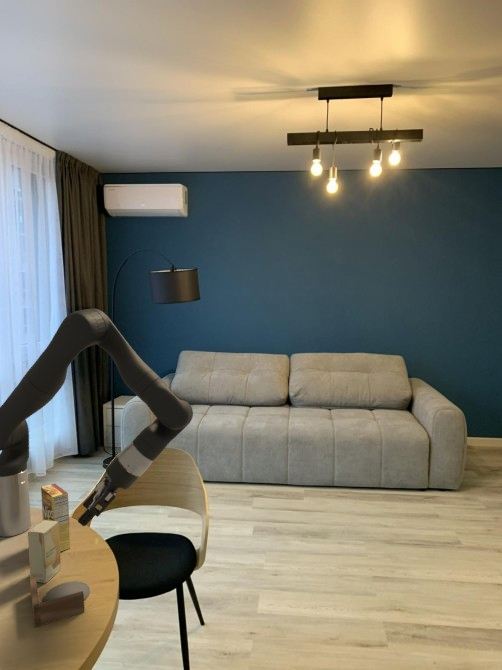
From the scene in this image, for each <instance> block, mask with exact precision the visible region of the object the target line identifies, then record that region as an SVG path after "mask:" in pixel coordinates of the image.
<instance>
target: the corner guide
mask: <svg viewBox="0 0 502 670" xmlns="http://www.w3.org/2000/svg"><path fill="white" fill-rule="evenodd" d="M37 583H38V582H36V576H33V577H30V576H29V586H30V597H31V598H30V599H31V600H30V601H31V606H32V608H31V609H32V615H33V624H34V625H33V626H34V628H37V627H41V626H44V625H47V624H50V623H53V622H56V621H59V620H63V619H66V618H69V617H70V618H71V617H73V616H75V615H79V614H82V613H85V600H84V594H83V591H81V592H78V593H74V594H71V595H67V596H64V597H60V598H57V599H54V600H50V601H47V602H44V601H43V602H41V603H40V600H39V591H38V584H37Z"/></svg>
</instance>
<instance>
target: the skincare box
mask: <svg viewBox="0 0 502 670" xmlns="http://www.w3.org/2000/svg"><path fill="white" fill-rule="evenodd" d="M27 538H28V539H27V541H28V542H27V543H28V559H29V560H28V561H29V578H30V577H33V576H36V583H42V584H43V583H44V584H46V583H48V582H49V581H50V580H51V579H52V578H53V577H54V576H55V575H56V574H57V573H59V571H60V570H61V569H62V564H61V563H62V562H61V560H62V559H61V552H60V541H59V522H58V521H48V520H43V519H42V521H41V522H39V523H38V524H36V525H34V526H33V527H32V528H31V529H29V530H27Z"/></svg>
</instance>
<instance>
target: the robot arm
mask: <svg viewBox="0 0 502 670" xmlns="http://www.w3.org/2000/svg"><path fill="white" fill-rule="evenodd" d="M95 345H97V346H98V347H99V348H101V349H103V350H104V351H105V352H106V353H107V355H109V356H110V357H111V359H112V360H113V362H114V364H115V365H116V369H117V370H118V373H119V375H120V378H121V379H122V381H123V382H124V384H125V385H126V386H127V387H128V388H129V390H130V391H131V392H133V394H135V395H136V397H138V398H139V399H140V400H141V401H142V402H143V403H145V404H146V406H147V407H148V408H149V410H150V411H151V412H152V414H153V415H154V416H155V418H156V419H155V420H154V421H153V422H152V423H151V424H149V425H148V426H146V427H145V428H144V429H142V430H141V431H140V433H139V434H138V435H137V436H136V437H135V438H134V439H133V440H132V441H131V442H130V443H128V444H127V445H126V446H125V447H124V448H123V449H122V450H121V451H120V452H119V453H118V455H116V456H115V458H114V459H113V460H112V461H111V462H110V463H109V464H108V465H107V466H106V467H105V472H106V475H104V477H103V478H102V479H101V480H100V481H99V482H98V483H97V484H95V487H94V489H93V491H92V493H91V494H90V495H89V496H88V497H87V498H86V499H85V500H84V501H83V503H82V506H83V507H84V508H85V509H86V510H85V511H84V512H83V513H82V514H80V516H79V518H77V519H78V520H77V522H78V524H80V525H81V526H82V527H85V526H87V525H88V524H89V523H90V521H92V519H93V518H94V517H96V518H98V517H99V516H101V514H102V513H103V512H104V511H105V510H106V509H107V507H109V505H110V504H111V503H112V501H114V500H115V499H116V495H117V493H118V489H123V490H129V489H130V488H131V487H132V486H133V485H135V484H134V483H136V482H137V481H138V479H140V477H141V476H143V475H144V473H145V472H146V471H147V470H148V469H149V467H151V465H152V464H153V462H154V461H155V460H156V458H158V457H159V456H160V455H161V453H162V452H163V451H164V450H165V448H166V447H167V446H168V445H169V443H170V442H172V441H173V440H174V439H175V438H176V437H177V436H178V435H179V434H181V432H182V431H183V430H184V429H186V427H187V426H188V425H190V423H191V421H192V420H193V417H194V411H193V408H192V406H191V404H190V403H189V402H188V401H186V400H183V399H180V398H179V397H177V396H176V395H175V393H173V391H171V390H170V389H169V388H168V386H167V384H166V382H165V381H164V380H163V379H162V378H161V377H160V376H159V375H158V374H157V373H156V372H155V371H154V370H153V369H152V368H151V367H149V365H148V364H147V363H145V362H144V361H143V360H142V358H141V357H140V356H139V355H138V354H137V352H136V351H135V350H134V349H133V347H132V346H131V345H130V344H129V342H128V341H127V340H126V339H125V337H124V336H123V335H122V334H121V332H120V331H119V329H118V328H117V326H116V325H115V324H114V322H113V321H112V320H111V318H110V317H109V316H108V315H107V314H106V313H105V312H103V311H102V309H101V310H100V309H98V308H86V309H80V310H76V311H74V312H73V311H72V312H71V313H69V314H68V315H66V316H65V317H64V319H63V320H62V322H61V323H60V325H59V326H58V328H57V330H56V332H55V333H54V335H53V337H52V339H51V340H50V342H49V343H48V345H47V347H46V348H45V350H44V351H43V352H42V353H41V354H40V355H39V357H38V358H37V359H36V361H35V362H34V363H33V364H32V365H31V367H30V368H29V369H28V371H26V373H25V374H24V376H23V377H22V378H21V380H20V381H19V383H18V384H17V386H16V387H15V388H14V389H13V390H12V392H11V393H10V394H9V395H8V397H7V399H6V400H5V401H4V402H3V403H2V404H1V406H0V537H12V536H17V535H20V534H22V533H23V534H24V533H25V532H26V531H29V530H30V528H31V527H32V518H31V516H32V515H31V503H30V502H31V501H30V491H29V490H30V488H29V475H28V461H29V458H30V431H29V425H28V422H27V419H28V418H30V417H31V416H32V415H34V414H35V413H37V412H38V411H40V410H41V409H42V408H44V407H45V406H46V405H47V404H48V403H50V402H51V401H52V400H53V399H54V397H55V396H56V395H57V393H58V392H59V391H60V389H61V388H63V385H64V384H65V381H66V378H67V373H68V369H69V366H70V364H71V363H72V362H73V361H74V360H75V358H76V357H77V356H79V354H80V353H81V352H83V350H85V349H87V348H89V347H92V346H95ZM97 506H99V507H97Z"/></svg>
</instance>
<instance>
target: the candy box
mask: <svg viewBox="0 0 502 670" xmlns="http://www.w3.org/2000/svg"><path fill="white" fill-rule="evenodd" d="M40 492H41V493H40V494H41V509H42V510H41V511H42V512H41V513H42V521H43V520H48V521H58V522H59V541H60V553H61V552H63V551H66V550H69V549H71V534H70V533H71V531H70V514H69V513H70V510H69V509H70V508H69V493H68V491H66V490H64V489H63V488H62V487H60V486H59V485H58V484H56V483H51V484H47V485H44V486H41V487H40Z"/></svg>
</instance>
